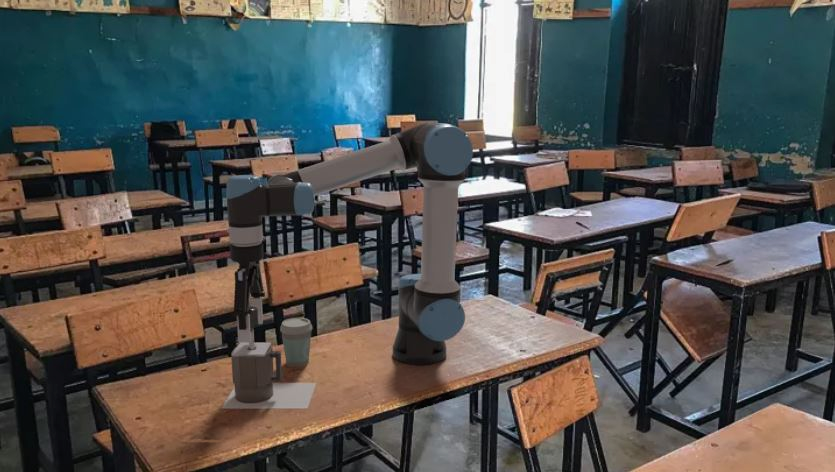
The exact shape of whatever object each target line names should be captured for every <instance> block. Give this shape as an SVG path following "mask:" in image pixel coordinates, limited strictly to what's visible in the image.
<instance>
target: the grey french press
mask: <svg viewBox="0 0 835 472" xmlns="http://www.w3.org/2000/svg"><path fill="white" fill-rule="evenodd" d="M254 348H255V350H249V342H238V344H237V345H236V346H235V347H234V348H233V350H232V351H231V353H230V357H231V371H232V372H231V373H232V384H234V387H235V398H236V400H237V401H239V402H242V403H259V402H263V401H266V400H268V399H270V398H271V397H272V396H273V383H274V382H281V381H282V379H283V372H282V351H281V350H273V346H272V342H254ZM250 356H255V357H250ZM274 358H275V370H274ZM274 371H275V372H274ZM274 373H275V374H274Z"/></svg>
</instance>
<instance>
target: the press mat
mask: <svg viewBox="0 0 835 472" xmlns="http://www.w3.org/2000/svg"><path fill="white" fill-rule="evenodd" d="M316 386H317V382H273V396H272V397H271V398H270V399H268V400H266V401H263V402H259V403H242V402H239V401H237V400H236V398H235V386H234V387H233V389H232V390H231V392H230V394H229V395H228V397H227V399H226V400H225V402H224V403H223V405H222V407H221V409H237V410H238V409H242V410H243V409H250V410H251V409H255V410H258V409H260V410H262V409H266V410H267V409H270V410H271V409H272V410H275V409H279V410H280V409H281V410H282V409H283V410H289V409H290V410H293V409H295V410H303V409H307V410H308V409H309V407H310V406H309V405H310V403H311V400H312V397H313V395H314V391H315V388H316Z"/></svg>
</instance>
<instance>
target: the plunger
mask: <svg viewBox="0 0 835 472" xmlns="http://www.w3.org/2000/svg"><path fill="white" fill-rule="evenodd" d="M248 314H250V333H251V342H248V343H249V350H255V348H254V343H255V333H254V332H255V330H254V328H255V327H258V326H259V324H258V308H257V307H250V306H249V308H248ZM250 357H255V356H250Z"/></svg>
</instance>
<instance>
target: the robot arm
mask: <svg viewBox="0 0 835 472" xmlns="http://www.w3.org/2000/svg"><path fill="white" fill-rule="evenodd" d="M473 154H474V147H473V143H472V141H471V138H470V137H469V135H468V134H467V133H466V132H465V130H463V129H462V128H460V127H458V126H456V125H454V124H451V123H450V124H449V123H439V122H434V121H428V122H423V123H420V124H418V125H415V126H413V127H410V128H408V129H405V130H402V131H401V132H396V133H395V134H391V135H390V138H389V139H388V140H385V141H382V142H380V143H376V144H374V145H371V146H368V147H365V148H361V149H357V150H355V151H352V152H349V153H346V154H342V155H340V156H337V157H334V158H331V159H328V160H325V161H322V162H318V163H315V164H313V165H310V166H307V167H304V168H299V169H298V170H295V171H291V172H288V173H284V174H280V173H279V174H275V175H273V176H271V177H270V178H269V179H268V180H267V182H266V183H262V182H261V178H260V176H258V175H253V174H243V175H242V174H240V175H239V174H238V175H237V174H236V175H233V176H230V177H229V178H227V180H226V205H227V206H226V207H227V209H226V210H227V222H228V223H227V224H228V228H227V229H226V233H228V235H229V237H228V238H229V240H228V241H229V243H231V244H230V245H229V258H230V260H231V261H232V262H233V263H237V264H238V268H237V270H235V271H234V297H233V298H234V300H233V302H234V303H233V312H232V316H233V317H236V325H237V343H240V342H248V343H249V342H251V333H250V314H248V308H249V307H257V308H258V325H263V323H264V319H263V317H264V316H263V300H262V298H265V296H266V292H264V290H265V288H264V283H263V279H262V272H261V271H262V270H261V266H260V265H261V264H260V261H262V260H263V259H264V255H265V254H264V243H262V241H264V232H263V217H265V218H267V217H281V216H282V217H285V216H298V217H299V216H302V215H310V214H312V213H313V212H314V210H315V197H317V196H319V195H322V194H324V193H325V194H326V193H328V192H331V191H334V190H337V189H340V188H343V187H345V186H349V185H351V184H352V185H353V184H354V183H358V182H361V181H363V180H367V179H369V178H370V179H371V178H372V177H376V176H379V175H382V174H384V173H387V172H391V171H393V170H397V169H398V170H401V171H406V170H409V169H414V168H418V169H417V179H418V180H419V182H420V183H421V184H422V185H423V201H422V225H421V226H422V227H421V228H422V231H421V234H422V235H421V257H420V258H421V262H420V273H412V274H407V275H403V276H401V277H400V278H399V280H398V287H397V290H398V329H397V333H396V336H395V338H394V342H393V345H392V357H393V358H394V359H395V360H397V361H398V362H401V363H403V364H408V365H419V366H420V365H421V366H422V365H431V364H436V363H439V362H442V361H444V359H446V357H447V343H446V341H448V340H450V339H452V338H455V337H456V335H457V334H459V333H460V332H461V330H462V329H463V327H464V325H465V321H466V313H465V309H464V307H463V305H462V304H461V303H460V300H461V299H460V297H461V296H460V295H461V286H460V284H459V283H458V282H457V280H455V274H456V273H455V270H456V255H457V254H456V253H457V252H456V251H457V249H456V247H457V226H458V225H457V224H458V223H457V222H458V204H459V203H458V202H459V200H458V199H459V188H460V186H461V184H463V182H465V181H466V169H467V168H468V167H469V165H470V164H471V162H472V159H473V156H474V155H473Z"/></svg>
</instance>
